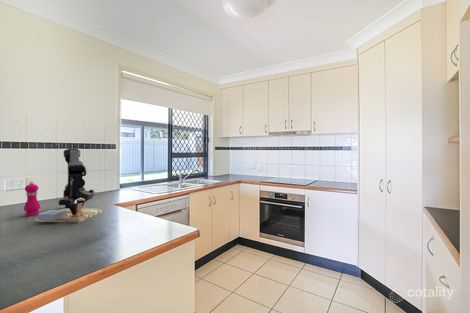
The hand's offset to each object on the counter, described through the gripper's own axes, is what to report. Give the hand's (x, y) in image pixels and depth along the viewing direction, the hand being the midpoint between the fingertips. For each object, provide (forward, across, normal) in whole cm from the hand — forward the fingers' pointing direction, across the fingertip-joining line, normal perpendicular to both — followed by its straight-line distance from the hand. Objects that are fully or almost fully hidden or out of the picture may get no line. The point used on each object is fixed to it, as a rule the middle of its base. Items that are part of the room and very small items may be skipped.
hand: (77, 214), depth 127 cm
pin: (+3, 0, 0) cm, 3 cm away
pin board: (+3, +5, +8) cm, 10 cm away
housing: (+1, -4, +10) cm, 11 cm away
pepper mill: (+3, +7, +32) cm, 33 cm away
